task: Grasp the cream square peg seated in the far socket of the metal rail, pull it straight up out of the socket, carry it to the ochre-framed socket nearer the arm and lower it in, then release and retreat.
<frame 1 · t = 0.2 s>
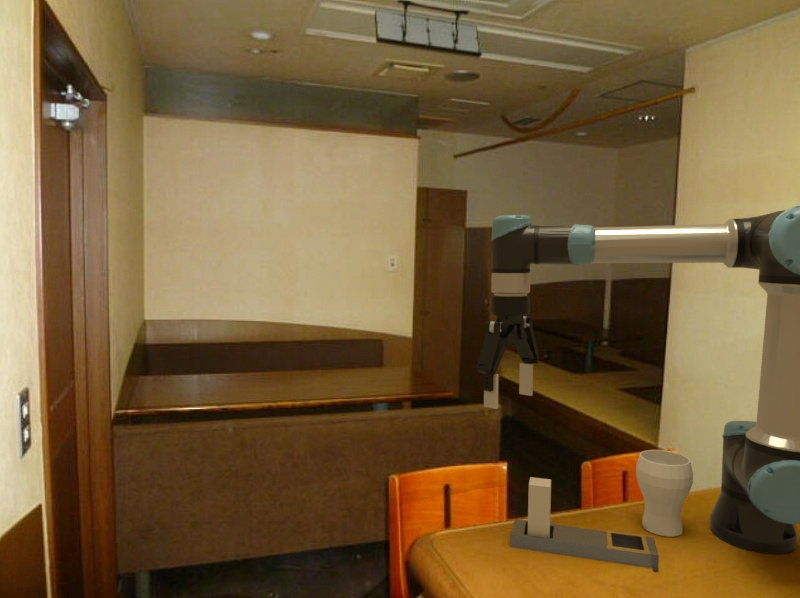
hand: (509, 400, 116), 27 cm above the table, fingers open, 13 cm apart
peg: (538, 542, 113), point 1 cm above the table, touching rail
cup: (661, 529, 120), on the table
rail: (581, 551, 111), on the table
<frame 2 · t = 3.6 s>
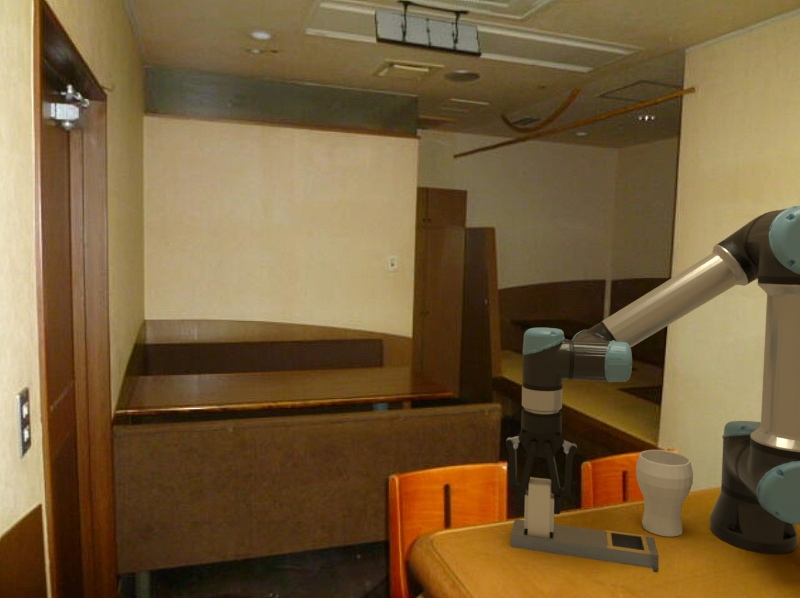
hand: (539, 527, 113), 4 cm above the table, fingers closed on peg, 4 cm apart
peg: (538, 542, 113), point 1 cm above the table, touching gripper
everything else where it was.
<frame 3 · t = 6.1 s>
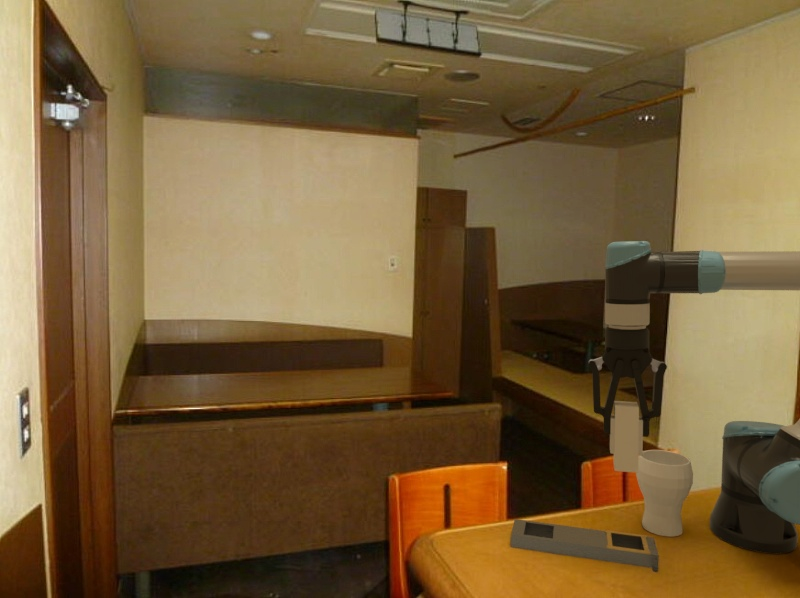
hand: (625, 452, 107), 20 cm above the table, fingers closed on peg, 4 cm apart
peg: (625, 467, 107), point 17 cm above the table, touching gripper
everything else where it was.
when the fingers open (5 cm above the table, at t = 8.7 s): peg drops 1 cm, resting on rail.
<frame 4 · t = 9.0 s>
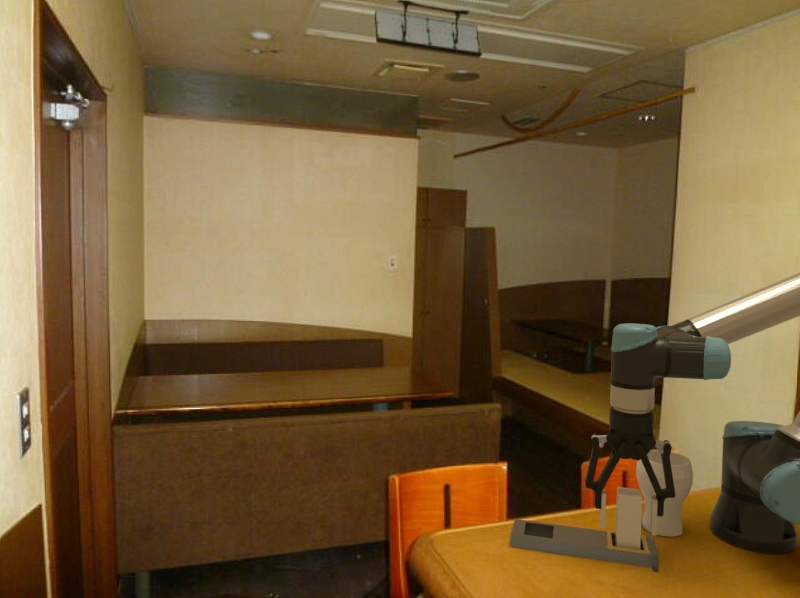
hand: (627, 528, 108), 6 cm above the table, fingers open, 8 cm apart
peg: (627, 554, 108), point 1 cm above the table, touching rail
everything else where it was.
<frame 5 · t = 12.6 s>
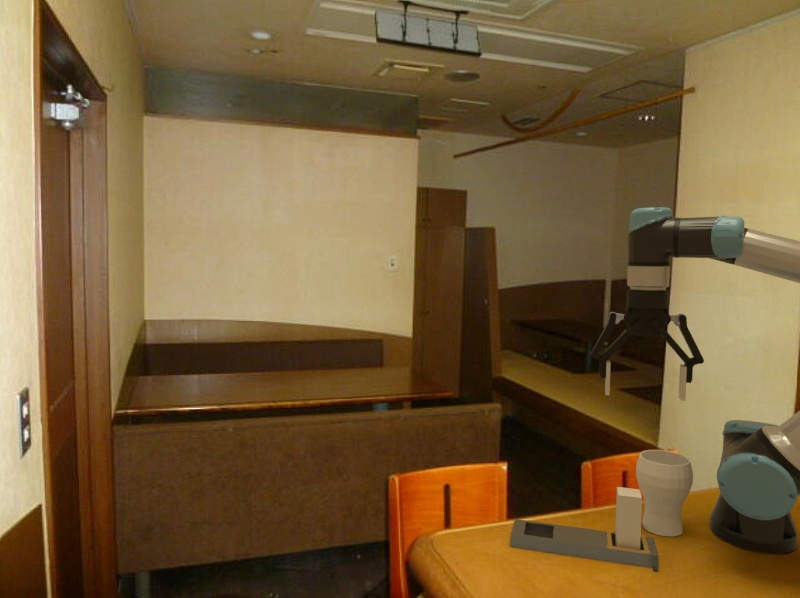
hand: (643, 396, 114), 29 cm above the table, fingers open, 13 cm apart
nothing on the table moved.
at the end: peg 0.1 cm from the target spot on the rail, point 0.6 cm above the rail's base; peg tilted 0°; the gripper is holding nothing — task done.
